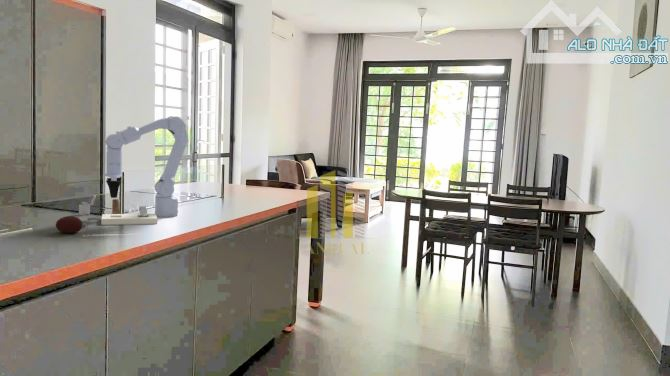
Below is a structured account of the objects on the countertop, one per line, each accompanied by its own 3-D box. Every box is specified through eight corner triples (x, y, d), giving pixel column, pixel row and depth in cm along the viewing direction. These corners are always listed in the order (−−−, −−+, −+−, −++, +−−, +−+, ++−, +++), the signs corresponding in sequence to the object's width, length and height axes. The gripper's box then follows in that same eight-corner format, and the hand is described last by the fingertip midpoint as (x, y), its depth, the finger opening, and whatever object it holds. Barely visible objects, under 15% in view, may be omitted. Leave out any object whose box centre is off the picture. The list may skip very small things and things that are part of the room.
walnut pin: (119, 217, 199) (119, 199, 198) (119, 219, 196) (119, 200, 195) (112, 217, 197) (112, 199, 196) (112, 219, 195) (112, 200, 194)
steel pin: (146, 220, 193) (146, 206, 192) (147, 222, 190) (147, 207, 190) (139, 220, 192) (139, 206, 191) (139, 222, 189) (139, 207, 188)
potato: (57, 230, 170) (57, 214, 169) (83, 230, 173) (83, 214, 172) (54, 235, 163) (54, 218, 162) (81, 234, 166) (81, 218, 165)
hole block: (155, 220, 198) (155, 213, 197) (157, 225, 189) (157, 218, 188) (102, 221, 189) (102, 214, 189) (101, 226, 180) (101, 219, 180)
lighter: (81, 215, 198) (81, 196, 197) (78, 214, 199) (78, 196, 198) (96, 213, 205) (96, 195, 204) (93, 212, 206) (93, 194, 205)
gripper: (103, 161, 199) (103, 193, 200) (102, 164, 186) (102, 198, 187) (122, 162, 202) (121, 193, 203) (122, 165, 189) (122, 198, 190)
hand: (113, 196), depth 196 cm, fingers open, 7 cm apart
